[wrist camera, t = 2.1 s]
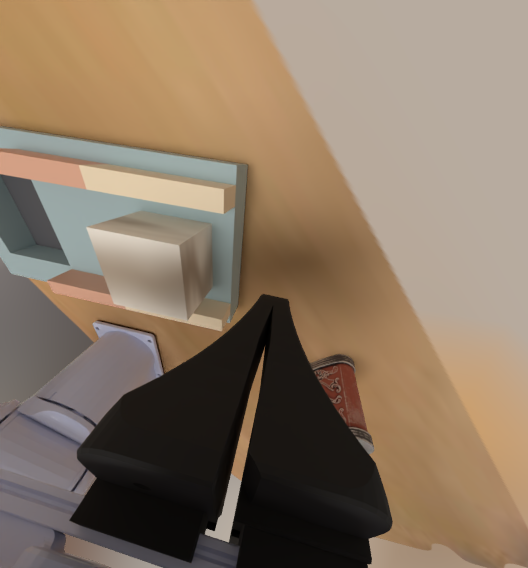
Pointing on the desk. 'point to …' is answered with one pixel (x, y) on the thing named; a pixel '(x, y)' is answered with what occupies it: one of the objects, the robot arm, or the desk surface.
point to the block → (155, 262)
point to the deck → (112, 211)
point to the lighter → (344, 394)
